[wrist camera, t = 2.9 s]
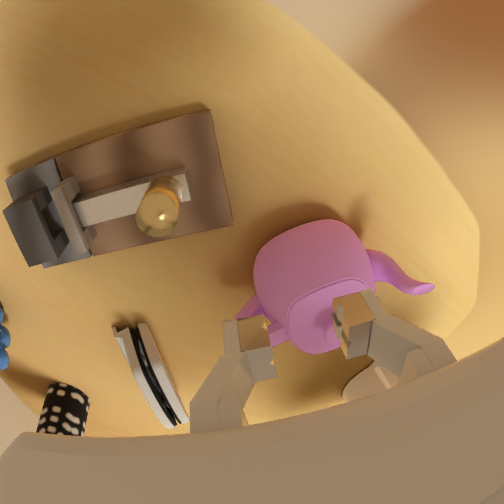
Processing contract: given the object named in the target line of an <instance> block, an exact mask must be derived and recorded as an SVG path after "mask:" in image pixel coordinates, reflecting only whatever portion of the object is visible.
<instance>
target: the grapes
mask: <svg viewBox="0 0 504 504" xmlns="http://www.w3.org/2000/svg"><path fill="white" fill-rule="evenodd" d="M3 320H4V312H3V309H2V308H1V307H0V369H2V370H4V369H6V368H7V367H8V365H9V356H8V353H7V351H6V350H5V348H7V347H8V346H9V344H10V340H11V337H10V333H9V331H8V329H7V328H6V327H5V326H2V323H3Z"/></svg>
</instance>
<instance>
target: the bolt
mask: <svg viewBox="0 0 504 504" xmlns="http://www.w3.org/2000/svg"><path fill="white" fill-rule="evenodd" d="M191 197H192V189H191V185H190V181H189V177H188V173H187V169H186V167H183V168H179V169H175V170H171V171H167V172H163V173H159V174H155V175H151V176H147V177H143V178H139V179H136V180H132V181H128V182H125V183H121V184H118V185H114V186H111V187H108V188H104V189H101V190H98V191H94V192H91V193H88V194H85V195H81V196H78V197H75V198H73V200H72V201H71V203H72V206H73V208H74V211H75V213H76V216H77V219H78V221H79V223H80V226H81V228H82V227H86V226H89V225H93V224H97V223H100V222H104V221H108V220H111V219H115V218H119V217H123V216H127V215H131V214H135V213H136V215H135V218H136V223H137V225H138V227H139V228H140V230H141V231H142V232H144V233H145V234H147V235H149V236H152V237H163V236H166V235H168V234H169V233H171V232H172V231H173V230H174V228H175V227H176V224H177V220H178V214H179V209H180V204H181V202H185V201H189V200H191Z"/></svg>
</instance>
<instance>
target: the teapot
mask: <svg viewBox="0 0 504 504" xmlns="http://www.w3.org/2000/svg"><path fill="white" fill-rule="evenodd" d="M253 279H254V286H255V290H256V294H255V295H254V296H253V297H252V298H251V300H250V301H249V302H248V303H247V304H246V305H245V306H244V307H243V308H242V309H241V310H240V311H239V313H238V314H237V315H236V316H235V317H234V318H235V319H239V318H245V317H250V316H256V315H261V314H264V317H265V318H266V317H268V319H269V320H270V321H271V323H272V325H270V326H268V327H267V331H268V334H269V339H270V343H271V348H273V347H275V346H277V345H279V344H281V343H283V342H285V341H287V340H289V341H290V342H291V343H292V344H294V345H295V346H296V347H297V348H299V349H300V350H302V351H303V352H305V353H308V354H321V353H325V352H328V351H331V350H334V349H337V348H339V347H341V340H339V339H337V337H336V335H335V332H334V329H333V324H332V314H333V313H334V309H333V307H332V300H333V298H336V297H340V296H344V295H347V294H351V293H355V292H358V291H362V290H366V289H369V288H370V289H372V290H373V292H374V293H375V281H383V282H387V283H390V284H392V285H393V286H395V287H396V288H398V289H399V290H400V291H402V292H404V293H407V294H411V295H421V294H425V293H428V292H430V291H432V290H433V289H434V287H435V286H434V285H433V284H431V283H424V282H418V281H416V280H413V279H412V278H410V277H409V276H407V275H406V274H405V273H404V272H403V271H402V269H401V268H400V267H399V266H398V265H397V264H396V262H395V261H394V260H393V259H392V258H390V257H389V256H388V255H386V254H384V253H382V252H380V251H376V250H370V249H365V248H364V246H363V244H362V242H361V241H360V239H359V238H358V236H357V235H356V234H355V232H354V231H353V230H352V229H351V228H350V227H349V226H348V225H346V224H345V223H343V222H340V221H338V220H333V219H323V220H318V221H313V222H309V223H306V224H303V225H300V226H297V227H294V228H292V229H290V230H287V231H285V232H283V233H281V234H280V235H278V236H276V237H274V238H273V239H271V240H270V241H268V242H267V243H266V244H265V245H264V246H263V247H262V248H261V249H260V251H259V252H258V254H257V256H256V259H255V263H254V270H253Z"/></svg>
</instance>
